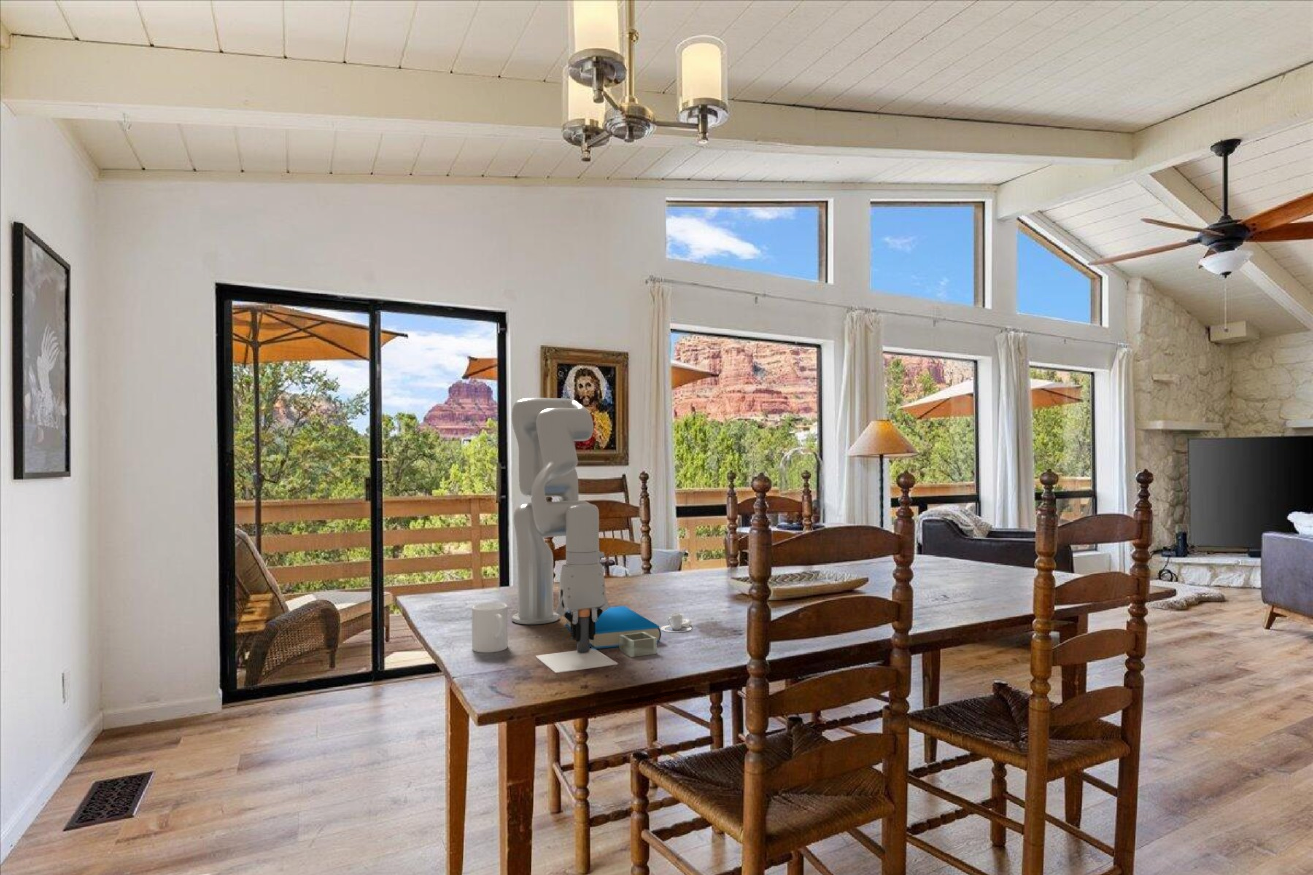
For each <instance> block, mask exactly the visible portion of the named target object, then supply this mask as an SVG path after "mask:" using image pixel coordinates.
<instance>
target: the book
mask: <svg viewBox="0 0 1313 875" xmlns="http://www.w3.org/2000/svg"><path fill="white" fill-rule="evenodd" d="M566 611H567V612H569V610H566ZM565 619H566V618H565ZM564 626H565V627H566V628H567V629H568V630H570V631H571V622H569V621H568V620H567V619H566V622H565V623H564ZM640 632H646V633H648V634H650V635H652V636H654V637H656V638H657V644H659V643H660V640H661V637H662V630H661V628H660V626H659V624H656V623H654V622H653V621H651V620H649V619H647V618H646V617H644V616H643V615H641V614H638V613H637V612H635V611H634V610H632V609H630V608H628V606H625V605H621V606H610V608H609V609H607V610H606V611H604V612H602V614H601V615H600V616H599V617H598V619H597V621H596V622H595V635H594V640H590V639H589V648H590V647H591V648H593V649H596V650H597V649H607V648H614V647H615V648H617V647H618V648H619V635H624V634H632V633H640Z"/></svg>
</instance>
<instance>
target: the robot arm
mask: <svg viewBox="0 0 1313 875" xmlns="http://www.w3.org/2000/svg"><path fill="white" fill-rule="evenodd" d="M511 423H512V428H513V431H514V434H515V435H514V436H515V437H516V441H517V446H518V482H519V484H518V485H519V490H520V493H521V495H523V496H525V497H528V498H530V499H531V500H530V502H527V503H523V504H520V505H519V506H517V507H516V509H515V510H514V513H513V525H514V530H515V531H514V532H515V537H516V546H517V549H516V553H517V613H514V614H513V615H512V617H511V621H512V622H514V623H515V624H521V625H543V624H550V623H554V622H557V621H558V620H559V619H560V616H562V617H564V618H565V619H567V620H568V621H569V622H571V630H570V637H571V638H572V639H571V640H573V641H575V642H576V643H577V642H579V641H580V624H578V610H583V609H590V616H589V639H590V640H594V635H595V622H596V621H597V619H598V617H599V616H600V615H601V614H602V612H604V611H606V610H607V609H609V608H610V607H611V606H610V603H609V601H608V599H607V590H606V580H605V574H604V568H603V565H602V563H601V562H600V561H601V559H602V558H605V557H606V556H605V552H604V551H600V514H599V513H600V512H599V508H598V506H597V505H596V504H594V503H593V504H592V503H590V502H588V501H586V500H579V477H578V476H579V475H578V473H577V470H576V467H577V466H578V464H579V463H578V462H579V460H578V455H577V450H576V445H575V442H585V441H588V440H590V439H591V437H592V436H593V433H594V422H593V417H592V415H591V413H590V412H589V410H588V408H587V407H585V406H584V405H583V404H581V403H580V402H579V401H578V400H575V399H573V398H555V397H554V398H551V397H550V398H549V397H525V398H522V399H518V400H517V401H516V402H514V404H513V406H512V409H511ZM554 497H555V498H556V497H557V498H558V499H559V500H558V501H557V500H556V501H547V498H554ZM555 537H565V564H562V565H561V570H560V576H559V584H558V603H557V606H556V608H555V611H554V554H553V550H552V549H551V547H550V546H549V545H548V544H547V543H546V541H545V539H546V538H555ZM568 610H569V612H567V611H568Z"/></svg>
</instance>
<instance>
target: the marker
mask: <svg viewBox="0 0 1313 875" xmlns="http://www.w3.org/2000/svg"><path fill="white" fill-rule="evenodd" d="M589 616H590V609H583V610H578V624H580V641H579V642H576V650H577V652H580V653H585V652H589V649H590V646H589Z"/></svg>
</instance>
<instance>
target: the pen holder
mask: <svg viewBox="0 0 1313 875" xmlns="http://www.w3.org/2000/svg"><path fill="white" fill-rule="evenodd" d="M657 645H658V643H657V638H656V637H654V636H652V635H650V634H648V633H646V632H640V633H632V634H624V635H619V647H618V648H619V652H621V653H623V654H625V655H627V656H629V657H630V658H633V657H635V658H636V657H642V656H649V655H655V654H658V651H657V650H658V649H657V648H658V647H657Z"/></svg>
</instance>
